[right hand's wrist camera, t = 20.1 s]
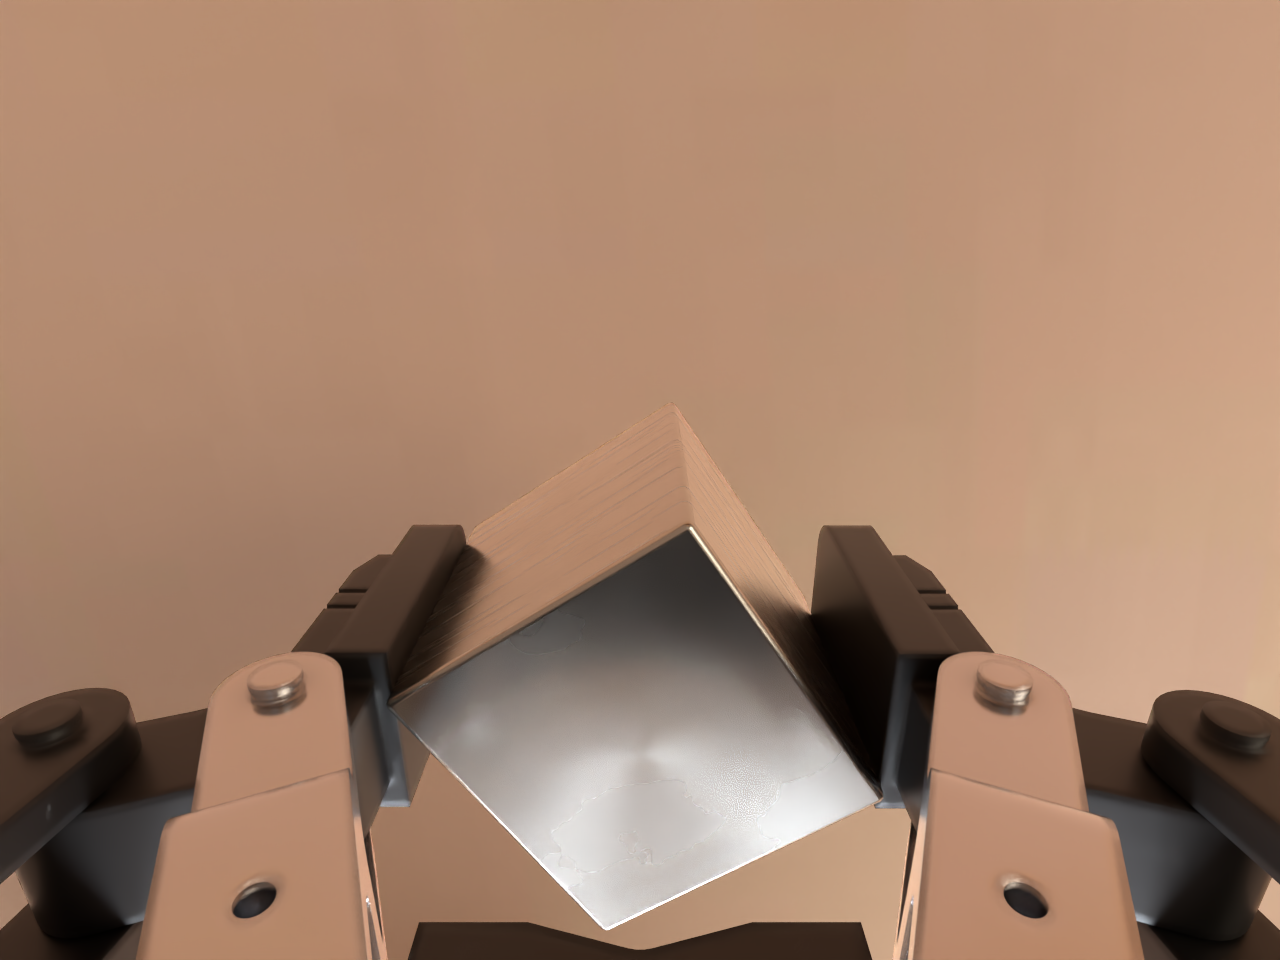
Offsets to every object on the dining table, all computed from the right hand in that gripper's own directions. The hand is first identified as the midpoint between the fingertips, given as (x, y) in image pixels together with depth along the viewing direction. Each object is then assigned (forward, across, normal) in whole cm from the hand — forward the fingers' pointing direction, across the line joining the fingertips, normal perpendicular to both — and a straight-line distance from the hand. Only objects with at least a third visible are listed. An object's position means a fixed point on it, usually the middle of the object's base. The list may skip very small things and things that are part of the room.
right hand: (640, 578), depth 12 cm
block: (+1, 0, 0) cm, 1 cm away
